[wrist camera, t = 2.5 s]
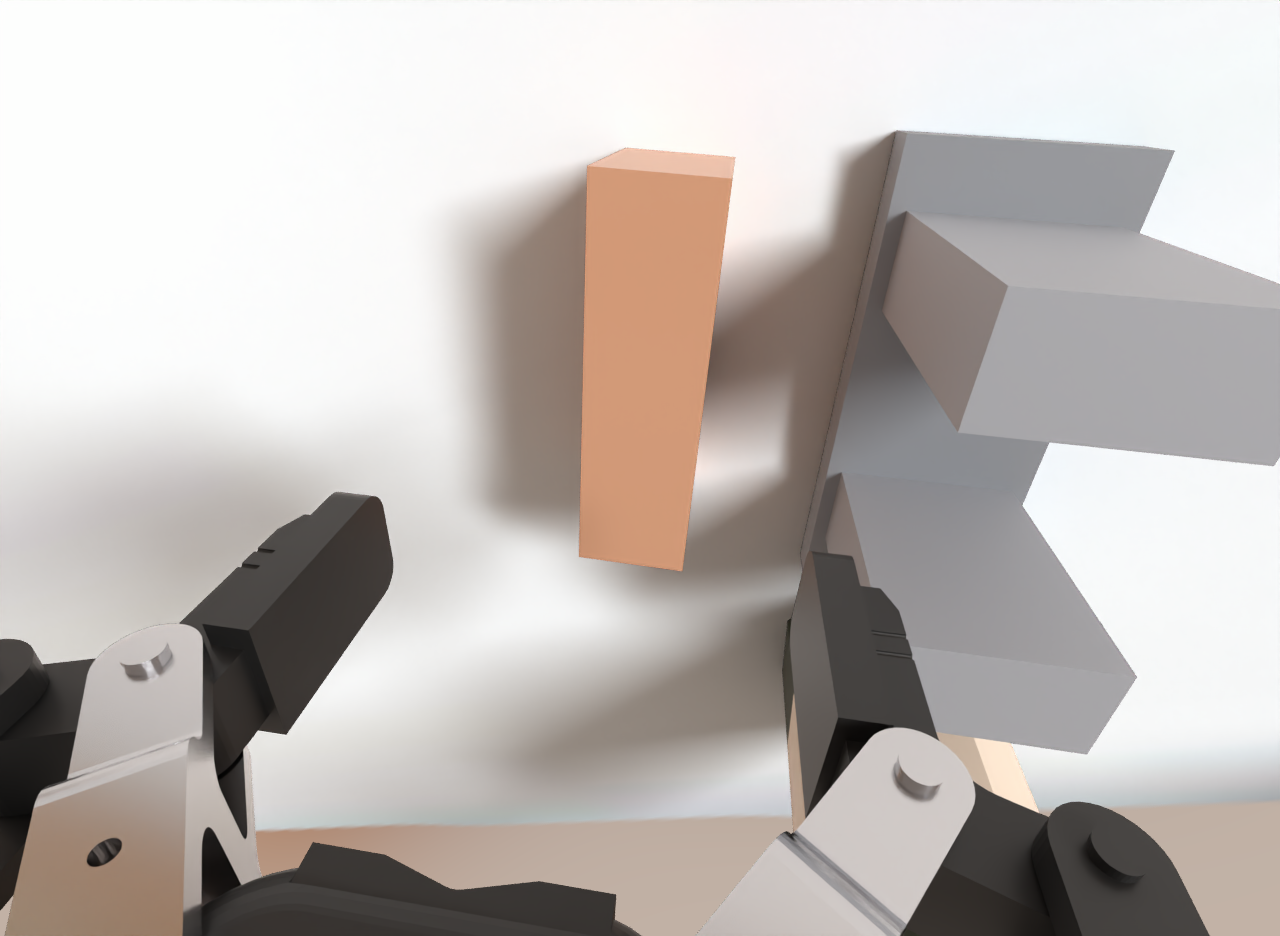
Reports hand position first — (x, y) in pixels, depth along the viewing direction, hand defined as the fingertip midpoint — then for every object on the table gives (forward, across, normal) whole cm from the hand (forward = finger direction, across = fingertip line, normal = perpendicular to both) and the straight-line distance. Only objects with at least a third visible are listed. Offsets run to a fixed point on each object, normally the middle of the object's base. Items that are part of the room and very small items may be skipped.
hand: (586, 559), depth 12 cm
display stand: (+13, -10, +1) cm, 17 cm away
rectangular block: (+13, 0, 0) cm, 13 cm away
